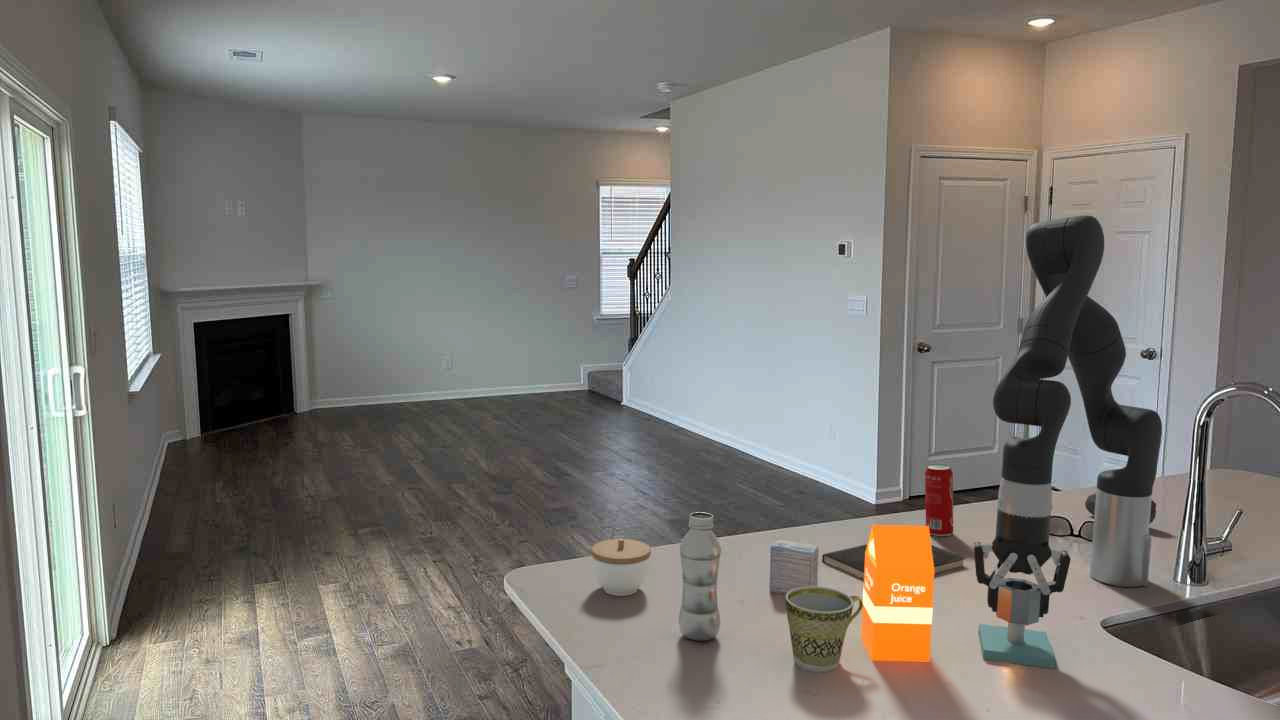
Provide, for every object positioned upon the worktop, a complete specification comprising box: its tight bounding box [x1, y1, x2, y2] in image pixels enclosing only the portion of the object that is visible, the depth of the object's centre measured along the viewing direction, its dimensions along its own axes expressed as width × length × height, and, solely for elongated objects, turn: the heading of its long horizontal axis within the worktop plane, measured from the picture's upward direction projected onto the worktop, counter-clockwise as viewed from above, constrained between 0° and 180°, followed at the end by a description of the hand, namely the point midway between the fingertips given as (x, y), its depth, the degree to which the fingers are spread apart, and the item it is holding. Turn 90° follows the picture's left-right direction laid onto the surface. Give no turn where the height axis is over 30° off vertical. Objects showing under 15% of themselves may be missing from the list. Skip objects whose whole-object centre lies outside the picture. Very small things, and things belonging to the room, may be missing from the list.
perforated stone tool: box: [1084, 492, 1158, 525], centre depth 206 cm, size 15×5×7 cm, turn 37°
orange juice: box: [860, 524, 935, 663], centre depth 138 cm, size 8×9×20 cm
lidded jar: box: [590, 538, 652, 597], centre depth 162 cm, size 11×11×9 cm
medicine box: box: [769, 539, 820, 595], centre depth 162 cm, size 8×4×9 cm, turn 65°
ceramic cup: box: [784, 586, 863, 673], centre depth 135 cm, size 13×10×10 cm
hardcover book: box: [821, 543, 967, 579], centre depth 178 cm, size 16×23×2 cm
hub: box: [995, 577, 1041, 626], centre depth 139 cm, size 6×6×5 cm
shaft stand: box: [978, 622, 1056, 669], centre depth 140 cm, size 10×10×8 cm
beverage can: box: [924, 463, 954, 537], centre depth 196 cm, size 6×6×15 cm
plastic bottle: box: [678, 511, 722, 642], centre depth 142 cm, size 6×7×20 cm
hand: (1016, 612), depth 139 cm, fingers closed on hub, 6 cm apart
